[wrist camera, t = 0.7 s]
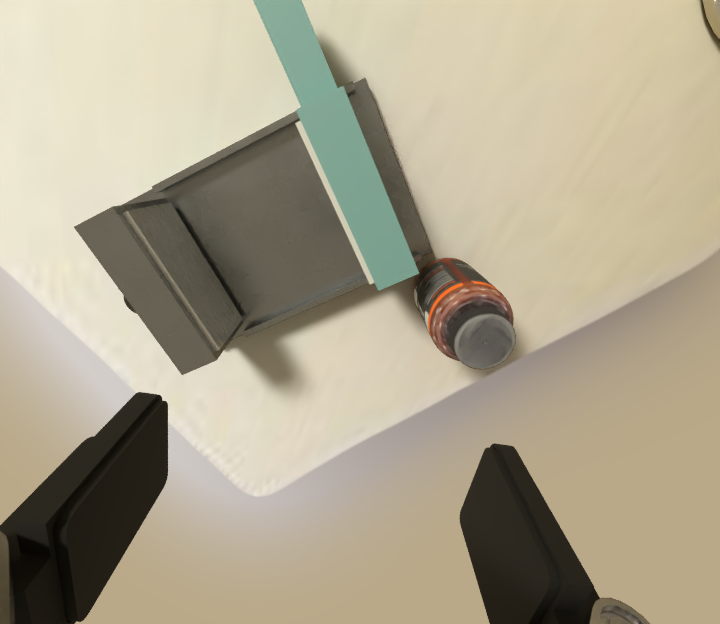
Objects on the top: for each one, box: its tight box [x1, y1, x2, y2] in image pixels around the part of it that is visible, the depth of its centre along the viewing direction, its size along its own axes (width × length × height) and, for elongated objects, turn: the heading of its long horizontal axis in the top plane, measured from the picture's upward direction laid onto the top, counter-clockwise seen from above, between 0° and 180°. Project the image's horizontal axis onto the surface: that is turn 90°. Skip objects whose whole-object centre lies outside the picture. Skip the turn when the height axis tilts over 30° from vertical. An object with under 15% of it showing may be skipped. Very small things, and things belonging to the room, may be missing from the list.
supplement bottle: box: [414, 258, 516, 369], centre depth 29 cm, size 6×6×11 cm
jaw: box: [253, 0, 419, 291], centre depth 25 cm, size 3×20×7 cm, turn 24°
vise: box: [74, 78, 432, 375], centre depth 28 cm, size 23×14×8 cm, turn 114°
